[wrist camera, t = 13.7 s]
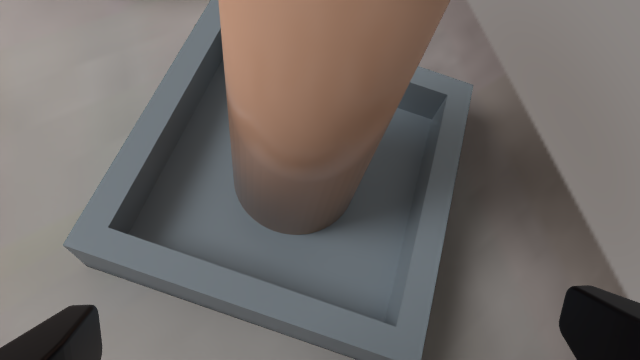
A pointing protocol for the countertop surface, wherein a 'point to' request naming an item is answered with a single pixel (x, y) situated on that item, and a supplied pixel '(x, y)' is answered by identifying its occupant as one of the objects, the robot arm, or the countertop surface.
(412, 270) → the tray
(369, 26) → the jar
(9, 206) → the countertop surface
